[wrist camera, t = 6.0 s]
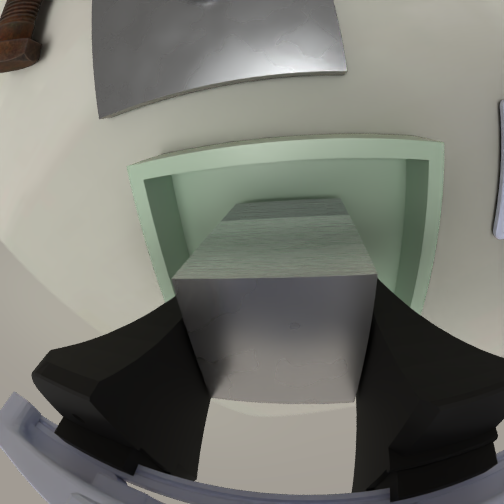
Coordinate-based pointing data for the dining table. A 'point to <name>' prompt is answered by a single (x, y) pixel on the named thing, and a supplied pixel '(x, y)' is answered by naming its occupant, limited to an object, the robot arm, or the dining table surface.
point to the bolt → (18, 35)
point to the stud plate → (206, 46)
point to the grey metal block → (280, 303)
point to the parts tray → (300, 197)
